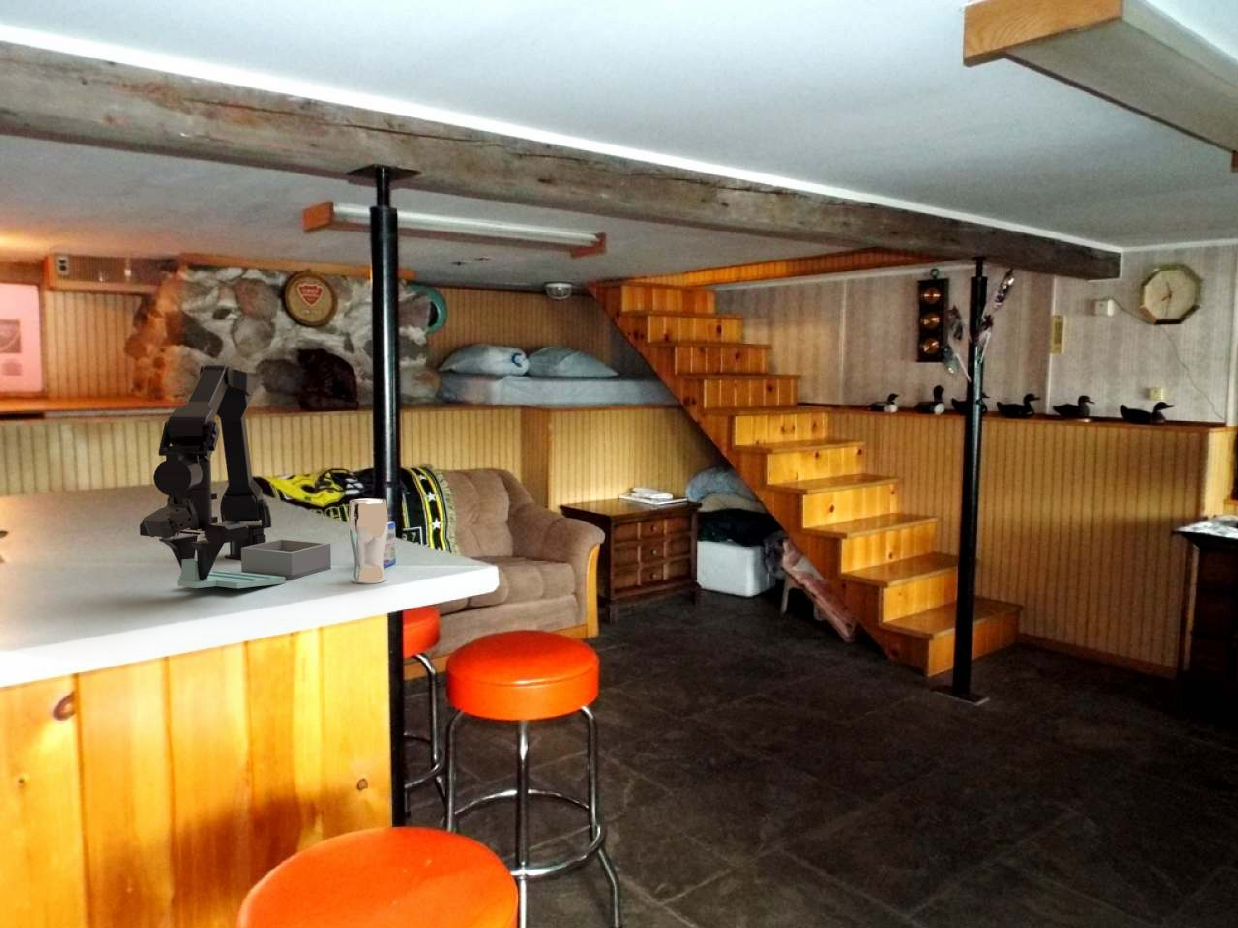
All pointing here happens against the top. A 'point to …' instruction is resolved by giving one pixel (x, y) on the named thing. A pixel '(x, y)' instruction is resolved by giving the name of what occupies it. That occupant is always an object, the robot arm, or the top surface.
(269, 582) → the lid
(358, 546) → the beer glass
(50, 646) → the top surface
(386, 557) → the medicine box
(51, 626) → the top surface
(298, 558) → the tub
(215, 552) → the robot arm
